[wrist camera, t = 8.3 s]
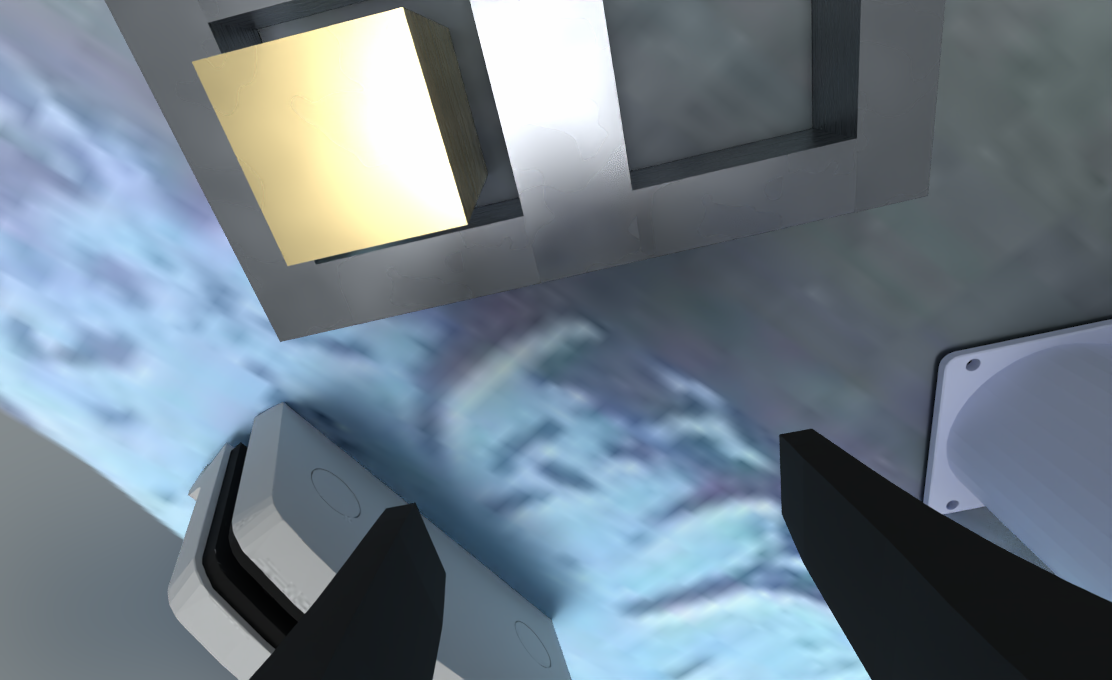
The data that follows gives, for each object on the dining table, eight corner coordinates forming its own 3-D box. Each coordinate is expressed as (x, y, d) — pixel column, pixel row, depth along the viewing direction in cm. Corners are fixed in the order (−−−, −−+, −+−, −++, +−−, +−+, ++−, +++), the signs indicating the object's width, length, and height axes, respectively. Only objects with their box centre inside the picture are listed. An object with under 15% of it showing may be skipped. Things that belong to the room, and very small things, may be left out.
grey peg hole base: (896, -246, 13) (973, -312, 11) (876, 179, 17) (927, 195, 15) (147, -39, 14) (74, -59, 12) (310, 308, 18) (280, 341, 16)
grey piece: (192, 466, 21) (50, 669, 12) (284, 383, 22) (216, 518, 12) (476, 666, 28) (527, 899, 18) (545, 599, 28) (628, 795, 19)
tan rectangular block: (487, 174, 17) (467, 224, 11) (364, 203, 17) (287, 265, 12) (448, 28, 15) (402, 6, 10) (310, 63, 15) (191, 61, 10)
